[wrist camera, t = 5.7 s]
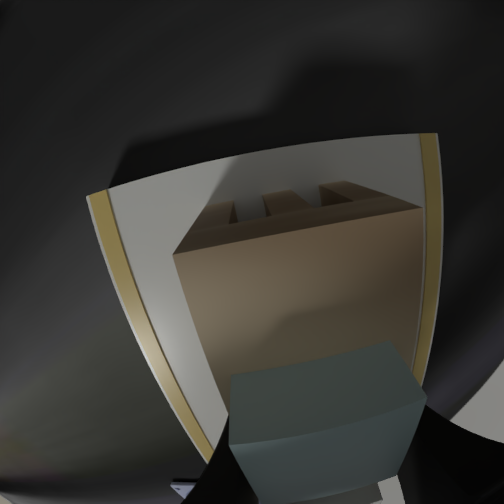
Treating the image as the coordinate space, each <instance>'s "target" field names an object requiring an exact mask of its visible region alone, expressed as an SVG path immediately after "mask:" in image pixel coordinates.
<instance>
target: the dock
mask: <svg viewBox="0 0 504 504" xmlns="http://www.w3.org/2000/svg"><path fill="white" fill-rule="evenodd" d="M338 181H348V182H351V183H354V184H358V185H361V186H364V187H367V188H370V189H373V190H376V191H379V192H382V193H385V194H387V195H390V196H393V197H396V198H399V199H402V200H404V201H407V202H410V203H412V204H415V205H418V206H420V207H423V226H424V243H423V274H422V289H421V301H420V311H419V320H418V328H417V335H416V342H415V348H414V354H413V360H412V365H411V372H412V374H413V375H414V377H415V378H416V380H417V381H418V383H419V384H420V386H421V388H422V384H423V380H424V376H425V372H426V368H427V364H428V359H429V354H430V350H431V345H432V339H433V334H434V328H435V322H436V315H437V308H438V300H439V292H440V282H441V271H442V255H443V186H442V171H441V159H440V150H439V141H438V134H437V133H421V134H398V135H382V136H369V137H358V138H348V139H338V140H330V141H322V142H314V143H307V144H300V145H293V146H287V147H280V148H274V149H268V150H263V151H257V152H252V153H247V154H242V155H237V156H232V157H227V158H222V159H217V160H213V161H208V162H204V163H200V164H196V165H191V166H187V167H183V168H179V169H175V170H172V171H168V172H164V173H160V174H157V175H153V176H149V177H146V178H142V179H139V180H135V181H132V182H129V183H125V184H122V185H119V186H116V187H113V188H110V189H106V190H103V191H100V192H97V193H94V194H92V195H89V196H86V199H87V203H88V206H89V210H90V214H91V217H92V221H93V224H94V228H95V231H96V234H97V238H98V241H99V244H100V247H101V250H102V253H103V256H104V259H105V262H106V265H107V268H108V271H109V273H110V276H111V279H112V282H113V284H114V287H115V290H116V292H117V295H118V297H119V300H120V302H121V305H122V307H123V310H124V312H125V314H126V317H127V319H128V322H129V324H130V326H131V328H132V331H133V333H134V335H135V337H136V340H137V342H138V344H139V346H140V348H141V350H142V352H143V354H144V357H145V359H146V361H147V363H148V365H149V367H150V369H151V371H152V373H153V375H154V376H155V378H156V380H157V382H158V384H159V386H160V388H161V390H162V392H163V393H164V395H165V397H166V399H167V401H168V402H169V404H170V406H171V408H172V409H173V411H174V413H175V414H176V416H177V418H178V420H179V421H180V423H181V424H182V426H183V428H184V429H185V431H186V433H187V434H188V436H189V437H190V439H191V440H192V442H193V444H194V445H195V447H196V448H197V450H198V451H199V453H200V454H201V456H202V457H203V459H204V460H205V461H206V463H207V464H208V462H209V460H210V458H211V456H212V454H213V452H214V450H215V448H216V446H217V444H218V441H219V439H220V437H221V434H222V431H223V429H224V426H225V423H226V420H227V417H228V412H227V410H226V407H225V405H224V402H223V400H222V398H221V395H220V393H219V390H218V388H217V385H216V383H215V380H214V377H213V375H212V372H211V370H210V367H209V364H208V362H207V359H206V356H205V354H204V351H203V348H202V345H201V343H200V340H199V337H198V334H197V331H196V328H195V325H194V323H193V320H192V317H191V314H190V311H189V308H188V305H187V302H186V298H185V295H184V292H183V289H182V286H181V283H180V279H179V276H178V273H177V270H176V266H175V263H174V260H173V256H172V254H173V253H174V251H175V250H176V248H177V247H178V245H179V244H180V242H181V241H182V239H183V238H184V236H185V235H186V233H187V232H188V230H189V229H190V227H191V226H192V224H193V223H194V221H195V220H196V219H197V217H198V216H199V214H200V213H201V211H202V210H203V208H204V207H205V206H208V205H212V204H217V203H222V202H227V201H232V200H234V205H235V210H236V215H237V219H238V222H243V221H248V220H253V219H258V218H263V217H266V212H265V207H264V202H263V196H262V194H267V193H273V192H278V191H284V190H289V189H291V190H292V191H293V192H295V193H296V194H297V195H299V196H300V197H301V198H302V199H304V200H305V201H306V202H308V203H309V204H310V205H311V206H313V207H314V208H318V207H322V206H321V199H320V192H319V184H325V183H332V182H338Z"/></svg>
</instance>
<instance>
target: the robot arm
mask: <svg viewBox="0 0 504 504" xmlns="http://www.w3.org/2000/svg"><path fill="white" fill-rule="evenodd" d="M397 475H398V479H399V482H400V485H401V489H402V492H403V496H404V500H405V504H504V443H501V442H497V441H494V440H490V439H487V438H485V437H482V436H480V435H477V434H475V433H472V432H470V431H468V430H466V429H464V428H461V427H460V426H458V425H456V424H454V423H452V422H450V421H449V420H447V419H446V418H444V417H442V416H441V415H439V414H438V413H436V412H435V411H434V410H432V409H431V408H429V407H428V406H427V405H425V406H424V409H423V412H422V415H421V418H420V420H419V423H418V426H417V429H416V431H415V434H414V436H413V439H412V441H411V444H410V446H409V449H408V451H407V453H406V455H405V458H404V460H403V462H402V464H401V466H400V469H399V471H398V473H397ZM171 487H172V488H173V489H174V490H175V491H176V492H177V493H178V494H180V495H181V496H182V497H183V498H184V500H183V502H182V503H181V504H261V502H260V501H259V499H258V497H257V496H256V494H255V492H254V491H253V489H252V487H251V485H250V484H249V482H248V480H247V478H246V477H245V475H244V473H243V471H242V469H241V468H240V466H239V464H238V462H237V460H236V458H235V456H234V455H233V453H232V451H231V449H230V447H229V414H228V417H227V420H226V423H225V426H224V429H223V431H222V434H221V437H220V439H219V441H218V444H217V446H216V448H215V450H214V452H213V454H212V456H211V458H210V460H209V462H208V464H207V466H206V468H205V470H204V471H203V473H202V475H201V476H200V478H199V480H198V481H197V482H172V483H171Z"/></svg>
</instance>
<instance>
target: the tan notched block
mask: <svg viewBox="0 0 504 504" xmlns="http://www.w3.org/2000/svg"><path fill="white" fill-rule="evenodd" d="M319 192H320V199H321V206H322V207H318V208H314V207H313V206H311V205H310V204H309V203H308V202H306V201H305V200H304V199H302V198H301V197H300V196H299V195H297V194H296V193H295V192H293V191H292V190H291V189H289V190H284V191H278V192H273V193H267V194H262V196H263V202H264V207H265V212H266V217H263V218H258V219H253V220H248V221H243V222H238V219H237V215H236V210H235V205H234V200H232V201H227V202H222V203H217V204H212V205H208V206H205V207H204V208H203V210H202V211H201V213H200V214H199V216H198V217H197V219H196V220H195V221H194V223H193V224H192V226H191V227H190V229H189V230H188V232H187V233H186V235H185V236H184V238H183V239H182V241H181V242H180V244H179V245H178V247H177V248H176V250H175V251H174V253H173V254H172V256H173V260H174V263H175V266H176V270H177V273H178V276H179V279H180V283H181V286H182V289H183V292H184V295H185V298H186V302H187V305H188V308H189V311H190V314H191V317H192V320H193V323H194V325H195V328H196V331H197V334H198V337H199V340H200V343H201V345H202V348H203V351H204V354H205V356H206V359H207V362H208V364H209V367H210V370H211V372H212V375H213V377H214V380H215V383H216V385H217V388H218V390H219V393H220V395H221V398H222V400H223V402H224V405H225V407H226V410H227V412H228V414H229V417H230V389H231V375H234V374H241V373H248V372H254V371H260V370H266V369H272V368H278V367H283V366H288V365H293V364H298V363H303V362H308V361H312V360H317V359H321V358H326V357H330V356H334V355H338V354H342V353H346V352H350V351H354V350H357V349H361V348H365V347H368V346H372V345H375V344H379V343H382V342H385V341H389V340H390V341H391V343H392V344H393V345H394V347H395V348H396V350H397V351H398V353H399V354H400V356H401V357H402V359H403V360H404V362H405V363H406V365H407V366H408V368H409V369H410V371H411V365H412V360H413V354H414V348H415V342H416V335H417V328H418V320H419V311H420V301H421V289H422V274H423V243H424V226H423V207H420V206H418V205H415V204H412V203H410V202H407V201H404V200H402V199H399V198H396V197H393V196H390V195H387V194H385V193H382V192H379V191H376V190H373V189H370V188H367V187H364V186H361V185H358V184H354V183H351V182H348V181H338V182H332V183H325V184H319ZM377 483H378V482H377Z"/></svg>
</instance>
